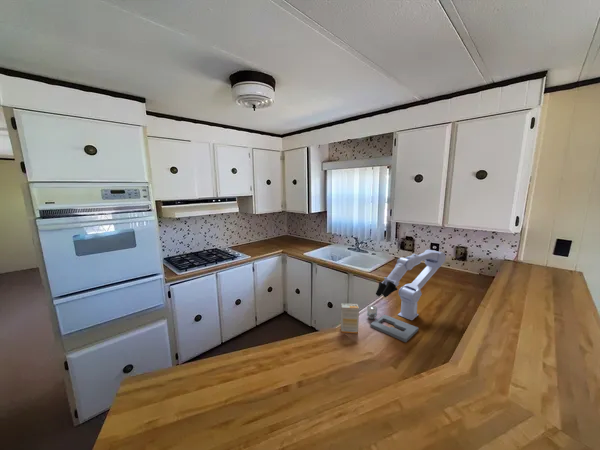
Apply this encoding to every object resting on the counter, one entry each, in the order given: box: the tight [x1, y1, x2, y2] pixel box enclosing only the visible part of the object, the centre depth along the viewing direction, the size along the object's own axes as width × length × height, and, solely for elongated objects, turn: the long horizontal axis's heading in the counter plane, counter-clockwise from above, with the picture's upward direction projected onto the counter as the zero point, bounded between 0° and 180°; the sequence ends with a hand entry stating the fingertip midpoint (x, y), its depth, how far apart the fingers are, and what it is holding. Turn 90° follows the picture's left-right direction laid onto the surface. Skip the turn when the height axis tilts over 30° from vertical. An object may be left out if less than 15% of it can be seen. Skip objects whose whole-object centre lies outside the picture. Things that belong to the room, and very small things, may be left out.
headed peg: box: [366, 305, 378, 320], centre depth 128 cm, size 5×5×6 cm
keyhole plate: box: [369, 314, 419, 343], centre depth 118 cm, size 15×18×2 cm
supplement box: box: [340, 303, 360, 335], centre depth 114 cm, size 8×5×13 cm, turn 84°
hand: (380, 295), depth 120 cm, fingers open, 7 cm apart
